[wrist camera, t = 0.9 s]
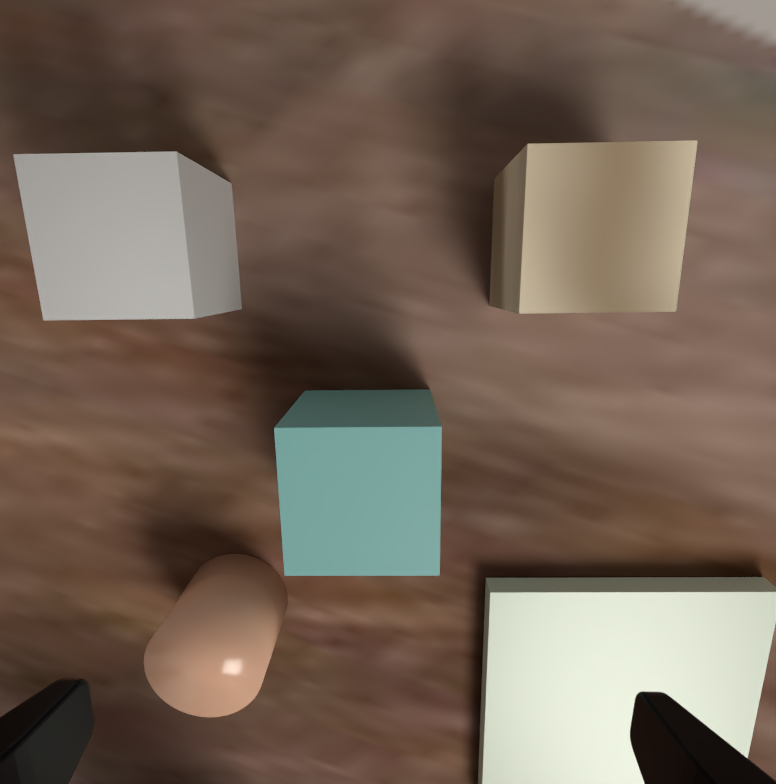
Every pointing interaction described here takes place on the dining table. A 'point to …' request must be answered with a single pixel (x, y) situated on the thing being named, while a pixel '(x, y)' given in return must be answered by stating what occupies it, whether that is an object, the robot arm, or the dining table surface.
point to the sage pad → (613, 668)
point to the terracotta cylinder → (218, 637)
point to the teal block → (360, 483)
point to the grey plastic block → (129, 236)
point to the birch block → (591, 227)
